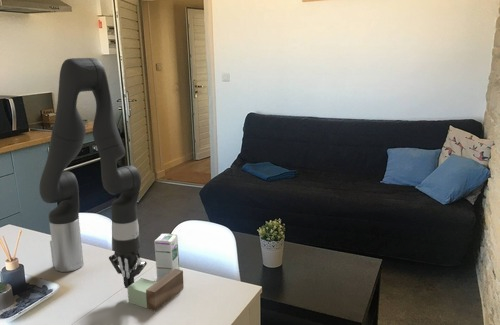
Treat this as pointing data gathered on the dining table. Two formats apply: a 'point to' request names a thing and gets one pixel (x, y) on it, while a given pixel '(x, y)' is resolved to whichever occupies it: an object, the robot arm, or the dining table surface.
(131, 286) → the sage block
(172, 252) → the syrup box
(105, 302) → the dining table surface
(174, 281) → the walnut board
